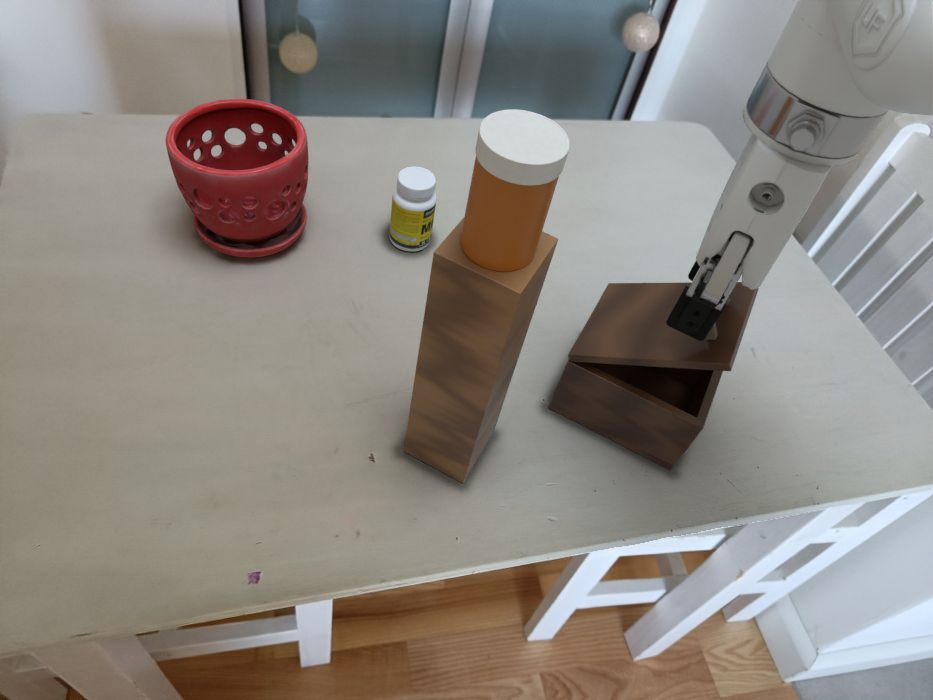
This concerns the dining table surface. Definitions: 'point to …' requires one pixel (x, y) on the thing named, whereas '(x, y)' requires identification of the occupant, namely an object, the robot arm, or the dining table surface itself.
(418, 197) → the supplement bottle
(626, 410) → the chest
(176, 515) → the dining table surface
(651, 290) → the lid
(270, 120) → the flower pot
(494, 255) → the pill bottle
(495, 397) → the stand
